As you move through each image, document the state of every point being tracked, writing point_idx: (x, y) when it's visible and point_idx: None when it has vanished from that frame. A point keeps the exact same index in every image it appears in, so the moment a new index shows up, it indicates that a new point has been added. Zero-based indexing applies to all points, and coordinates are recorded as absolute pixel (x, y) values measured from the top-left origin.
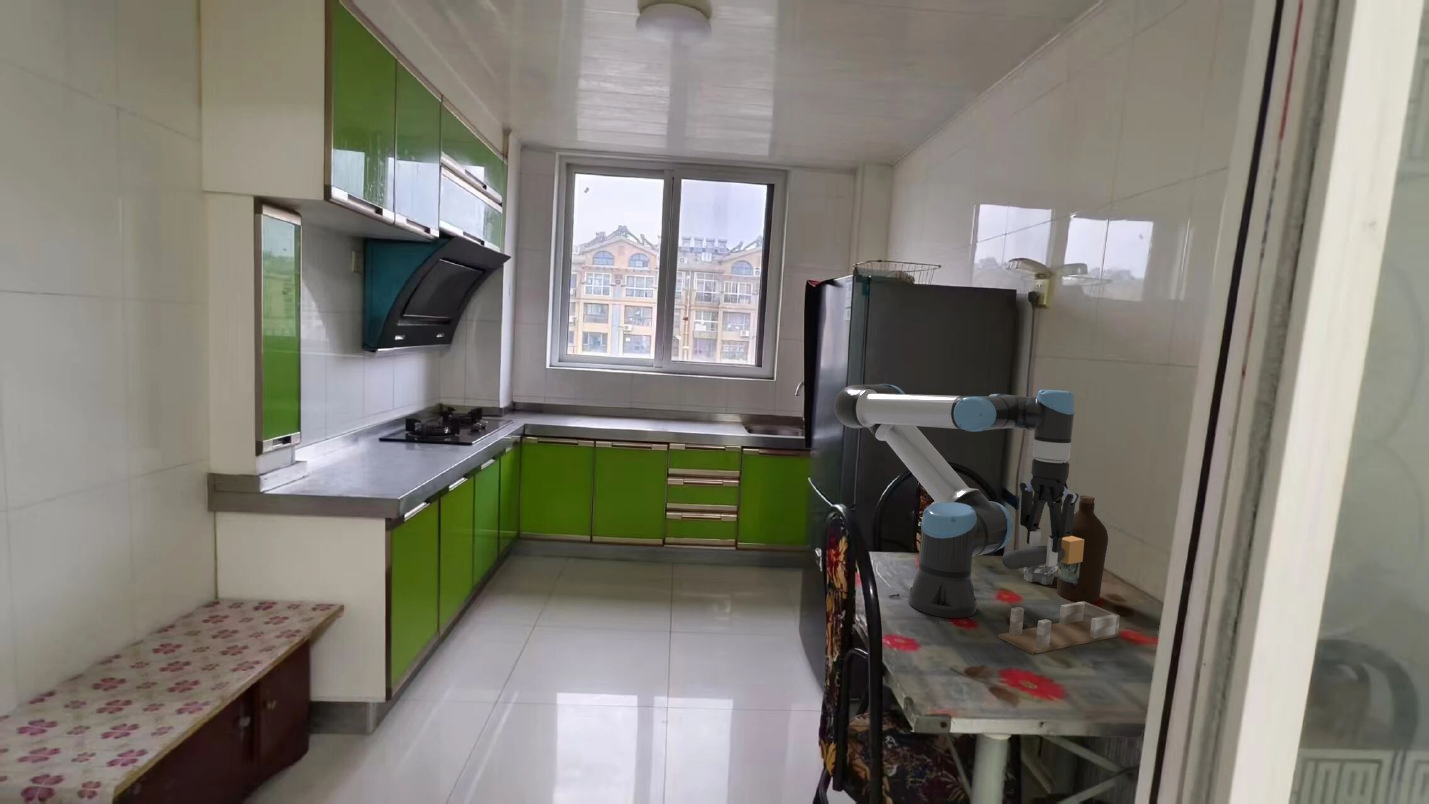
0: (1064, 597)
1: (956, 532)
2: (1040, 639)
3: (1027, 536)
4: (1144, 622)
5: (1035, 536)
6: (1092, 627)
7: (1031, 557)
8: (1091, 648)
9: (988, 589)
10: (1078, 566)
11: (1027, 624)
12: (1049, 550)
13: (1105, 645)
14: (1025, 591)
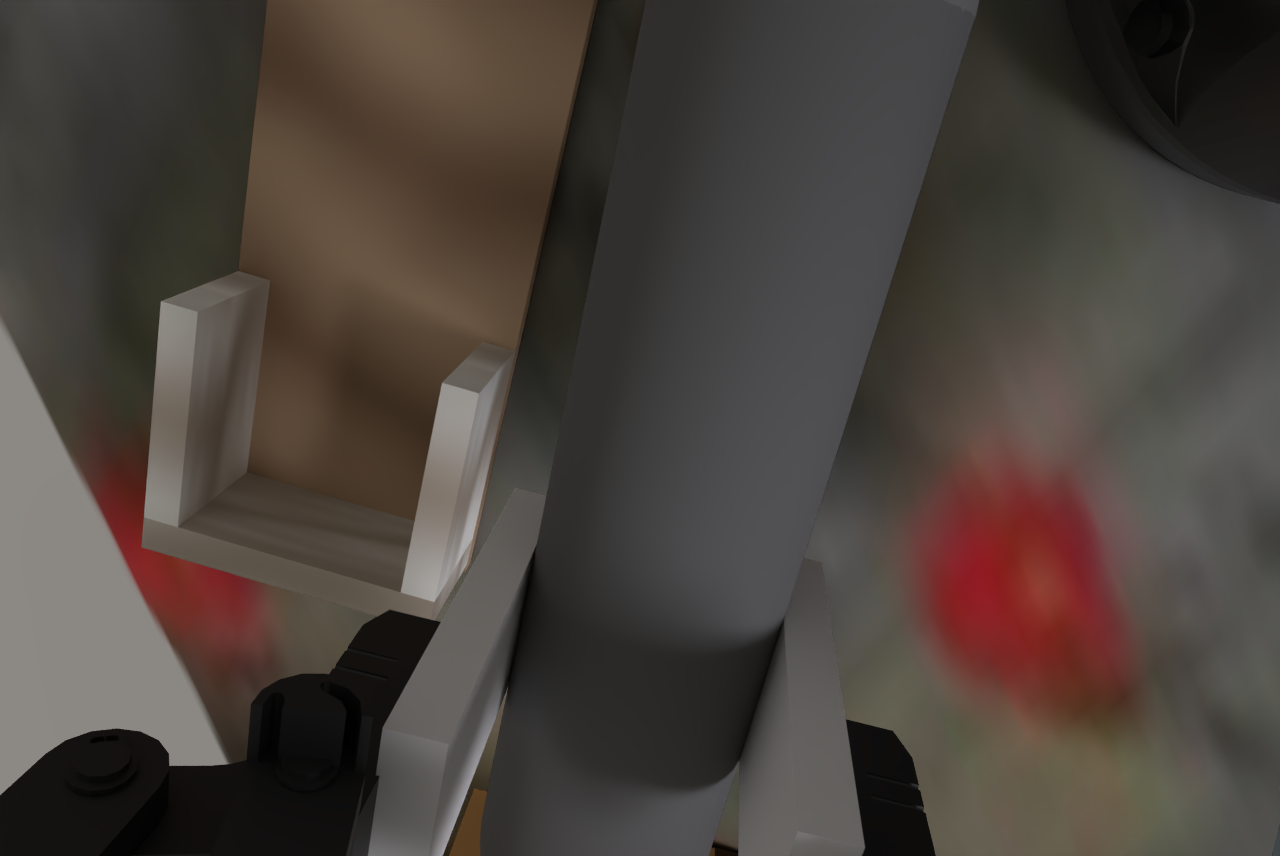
0: (734, 852)
1: None
2: None
3: (919, 817)
4: None
5: (771, 828)
6: (218, 291)
7: (599, 258)
8: (190, 128)
9: (1201, 619)
10: None
11: None
12: (464, 595)
13: (178, 268)
14: (971, 782)
